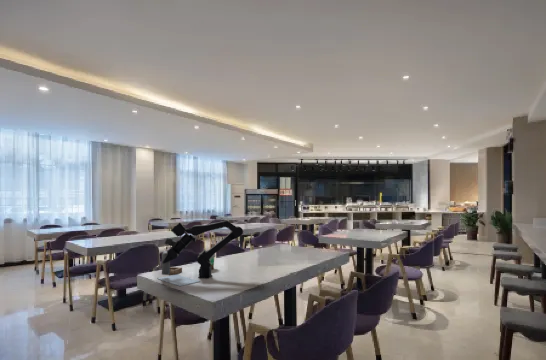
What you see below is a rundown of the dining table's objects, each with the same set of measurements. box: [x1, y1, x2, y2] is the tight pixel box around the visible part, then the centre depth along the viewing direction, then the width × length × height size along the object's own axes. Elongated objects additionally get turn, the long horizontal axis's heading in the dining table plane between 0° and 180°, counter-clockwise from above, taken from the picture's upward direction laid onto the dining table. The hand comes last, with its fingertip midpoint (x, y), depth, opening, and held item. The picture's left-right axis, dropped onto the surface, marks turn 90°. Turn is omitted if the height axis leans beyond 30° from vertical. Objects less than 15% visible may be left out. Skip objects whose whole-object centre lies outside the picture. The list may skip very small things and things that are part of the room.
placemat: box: [157, 274, 201, 287], centre depth 177 cm, size 24×13×1 cm, turn 48°
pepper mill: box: [161, 251, 171, 276], centre depth 181 cm, size 4×4×12 cm
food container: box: [209, 253, 216, 270], centre depth 208 cm, size 12×6×10 cm, turn 168°
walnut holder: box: [169, 266, 183, 275], centre depth 197 cm, size 8×8×2 cm
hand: (163, 262), depth 181 cm, fingers closed on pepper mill, 4 cm apart
